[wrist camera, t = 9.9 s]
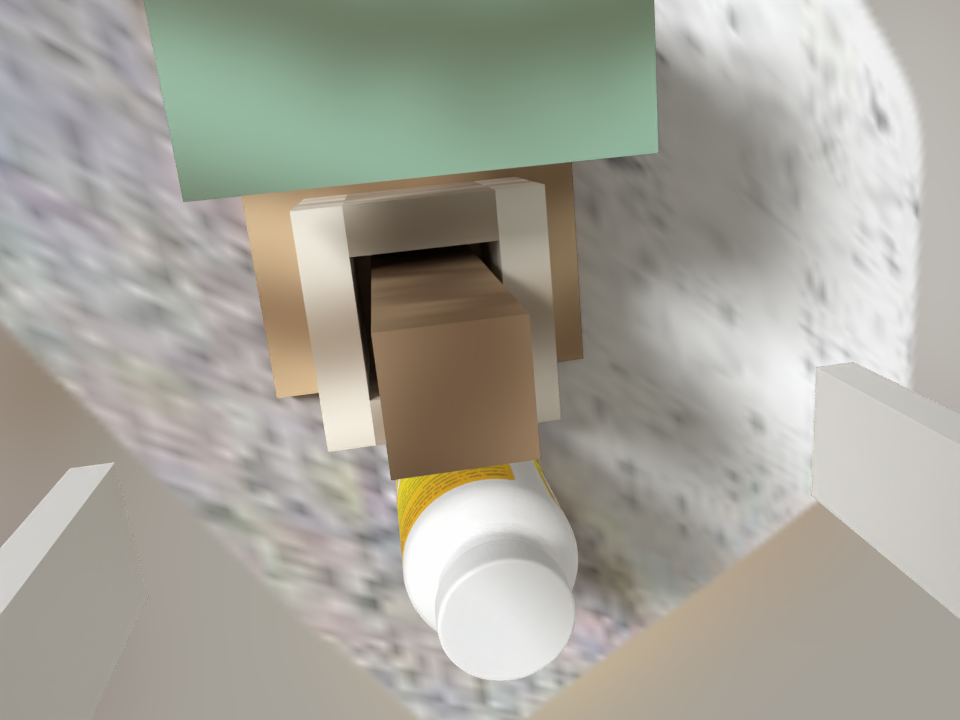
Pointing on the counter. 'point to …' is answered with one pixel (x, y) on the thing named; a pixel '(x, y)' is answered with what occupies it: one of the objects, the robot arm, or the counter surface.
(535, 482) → the supplement bottle
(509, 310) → the walnut peg
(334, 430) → the awning station
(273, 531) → the counter surface
